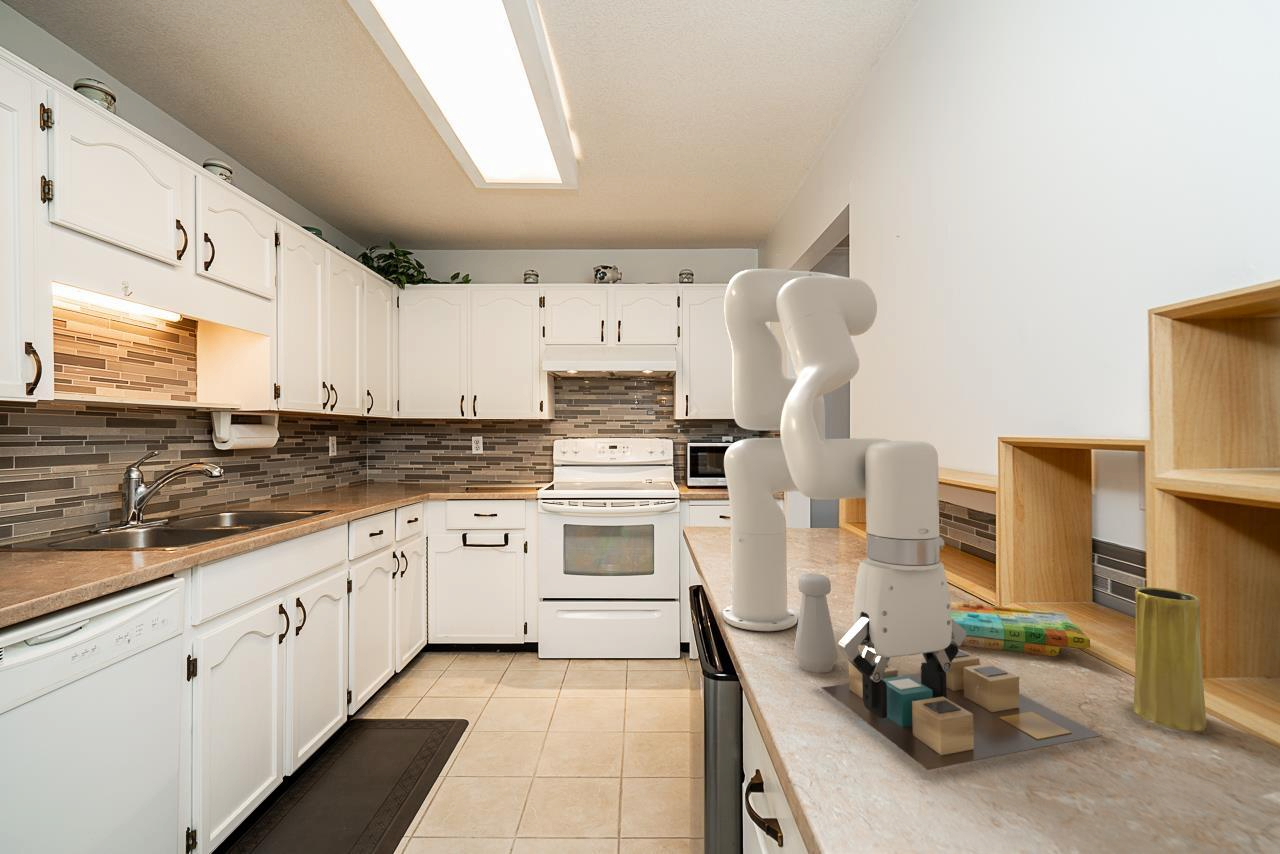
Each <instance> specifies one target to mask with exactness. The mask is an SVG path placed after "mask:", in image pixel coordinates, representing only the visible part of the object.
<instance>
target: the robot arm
mask: <svg viewBox="0 0 1280 854" xmlns="http://www.w3.org/2000/svg"><path fill="white" fill-rule="evenodd" d="M726 287H727V288H726V290H725V294H724V299H723V314H724V321H725V327H726V330H727V334H728V337H729V338H728V339H729V342H730V347H731V356H732V357H731V359H732V360H731V361H732V364H731V368H732V370H731V373H732V375H731V377H732V378H731V379H732V380H731V381H732V382H731V383H732V385H731V386H732V387H731V389H732V394H731V395H732V396H731V397H732V413H733V418H734V422H735V423H736V425H737V426H738V427H740V428H742V429H745V430H750V431H779V432H780V433H779V434H780V437H754V438H744V439H739V440H737V441H735V442H733V443H731V445H729V446H728V448H727V449H726V451H725V454H724V457H723V468H724V475H725V479H726V480H725V481H726V486H727V491H728V501H729V519H730V521H729V523H730V572H731V573H730V577H731V578H730V579H731V581H730V583H731V585H730V587H731V589H730V593H729V594H731V604H730V605H728V606H726V607H725V608H724V609H723V610H722V618H723V620H724V621H725V622H726V623H727V624H728V625H731V626H733V627H735V628H739V629H742V630H747V631H754V632H755V631H756V632H776V631H785V630H787V629H790V628H793V627H794V626H795V625H796V624H797V623H798V615H797V613H796V612H795V611H794V610H793V609H791V608H789V607H788V555H787V553H788V551H787V521H786V520H787V519H786V516H785V514H784V511H783V509H782V508H781V506H780V505H779V503H778V502H777V500H776V499H775V497H774V496H773V495H774V494H776V493H777V494H778V493H787V492H791V493H792V492H800V493H801V494H802V495H803V496H805V497H807V498H809V499H813V500H819V501H821V500H822V501H823V500H825V501H826V500H846V499H865V523H866V524H865V532H866V533H865V535H866V541H865V543H866V559H862V560H860V562H859V566H858V569H857V574H856V579H855V585H854V592H853V593H854V594H853V605H852V606H853V607H852V626H851V628H850V629H849V630H848V631H847V632H846V633H845V634H844V636H843V637H841V639H840V640H839V641H838V643H837V647H838V649H839V650H840V651H841V652H842V654H843V655H844V656H845V658H847V659H848V662H849V661H850V662H851V663H852V664H853V665H854V666H855V667H856V668H857V670H858V671H859V672H860V673H862V687H863V702H864V706H865V707H866V708H867V709H868V710H870V711H871V712H872V713H874V714H875V715H876V716H878V717H879V718H881V719H882V718H886V716H887V684H886V682H885V681H883V680H882V676H883V674H884V671H885V669H886V666H887V664H888V665H889V662H890V659H891V658H900V657H907V656H914V655H915V656H916V655H922V656H923V658H924V660H925V662H921V666H920V673H921V684H923V685H925V686H926V687H928V688H930V689H931V690H932V697H933V698H937V697H945V698H947V693H946V672H949V671H950V670H951V668H952V665H951V662H952V660H953V659H954V657H955V656H956V655H957V653H958V649H959V648H960V647H961V646H962V645H961V644H962V642H963V640H964V639H965V637H966V635H967V633H966V631H965V630H964V629H963V628H962V627H961V626H960V625H959V624H957V623H956V622H955V621H954V620H953V619H952V618H951V605H950V601H951V597H950V589H949V584H948V579H947V574H946V570H945V566H944V563H943V562H941V560H940V559H941V557H940V555H941V554H940V553H941V550H942V549H944V547H945V541H944V539H943V538H942V537H941V536H940V492H939V491H940V489H939V485H940V483H939V457H938V456H939V454H938V451H937V448H935V446H934V445H933V444H931V443H930V442H926V441H918V440H890V439H885V438H855V437H854V438H853V437H852V438H826V404H825V398H824V395H826V394H828V393H832V392H833V391H835V390H837V389H839V388H841V387H843V386H844V385H846V384H847V383H849V382H850V381H851V380H852V379H854V377H855V376H857V374H858V371H859V369H860V365H861V363H860V358H859V356H858V353H857V351H856V348H855V345H854V342H853V340H852V337H854V336H860V335H863V334H865V333H866V332H868V331H869V330H870V329H871V328H872V327H873V325H874V323H875V320H876V317H877V313H878V303H877V298H876V296H875V293H874V291H873V289H872V287H870V285H869V284H868V283H866V281H864V280H861V279H860V278H853V277H848V276H842V275H836V274H831V273H827V272H821V271H820V272H818V271H806V270H790V269H778V268H751V269H745V270H742V271H739V272H737V273H736V274H735V275H734V276H732V278H730V280H729V282H728V284H727V286H726ZM767 322H771V323H780V326H781V330H782V333H783V337H784V340H785V343H786V346H787V350H788V353H789V357H790V361H791V365H792V367H793V370H794V373H795V376H793V375H792V376H789V375H787V376H785V375H784V373H783V350H782V347H781V344H780V343H779V341H778V339H777V337H776V335H775V334H774V332H773V331H772V330H771V329H770V328H769V326H768V325H767V324H766V323H767ZM859 646H864V648H863V650H862V653H861V652H860V651H859ZM875 657H876V659H875V662H874V664H873V666H872V665H871V663H872V661H873V658H875Z"/></svg>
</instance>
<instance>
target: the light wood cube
mask: <svg viewBox="0 0 1280 854" xmlns="http://www.w3.org/2000/svg"><path fill="white" fill-rule="evenodd" d="M876 657H877V656H874V658H873V661H872V663H871V665H872V666H873V664H874V662H875V659H876ZM898 676H899V670H898V669H897V668H895V667H894V666H891V665H890V664H889V663H888V664H887V666H886V669H885V671H884V674H883V676H882V679H884V678H891V677H898ZM848 684H849V689H850V690H851V691H852V692H854V693H855V694H856V695H858V696H859V697H861V698H862V699H863V687H862V673H860V672H859V671H858V670H857V668H856V667H855V666H854V665H853V664H852V663H851V662H850V661H849V660H848Z"/></svg>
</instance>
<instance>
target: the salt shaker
mask: <svg viewBox="0 0 1280 854" xmlns="http://www.w3.org/2000/svg"><path fill="white" fill-rule="evenodd" d="M797 586H798V591H799V592H800V593H802V596H801V602H800V607H799V613H798V619H797V626H796V627H797V628H796V634H795V640H794V645H793V646H794V647H793V652H794V657H795V659H796V661H797V663H798V665H799V667H800V668H801V669H802V670H804V671H807V672H811V673H815V674H821V673H828V672H829V673H830V672H831V671H832V670H833V668H834V666H835V664H836V662H837V661H838V659H839V658H838V657H839V653H838V648H837V644H836V640H835V635H834V629H833V624H832V619H831V614H830V613H831V612H830V609H829V604H828V599H827V595H829V594H830V593H831V591H832V590H831V589H832V584H831V580H830V578H829V577H828V576H826V575H824V574H820V573H810V572H809V573H803V574H801V575H800V576H799V577H798V581H797Z"/></svg>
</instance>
